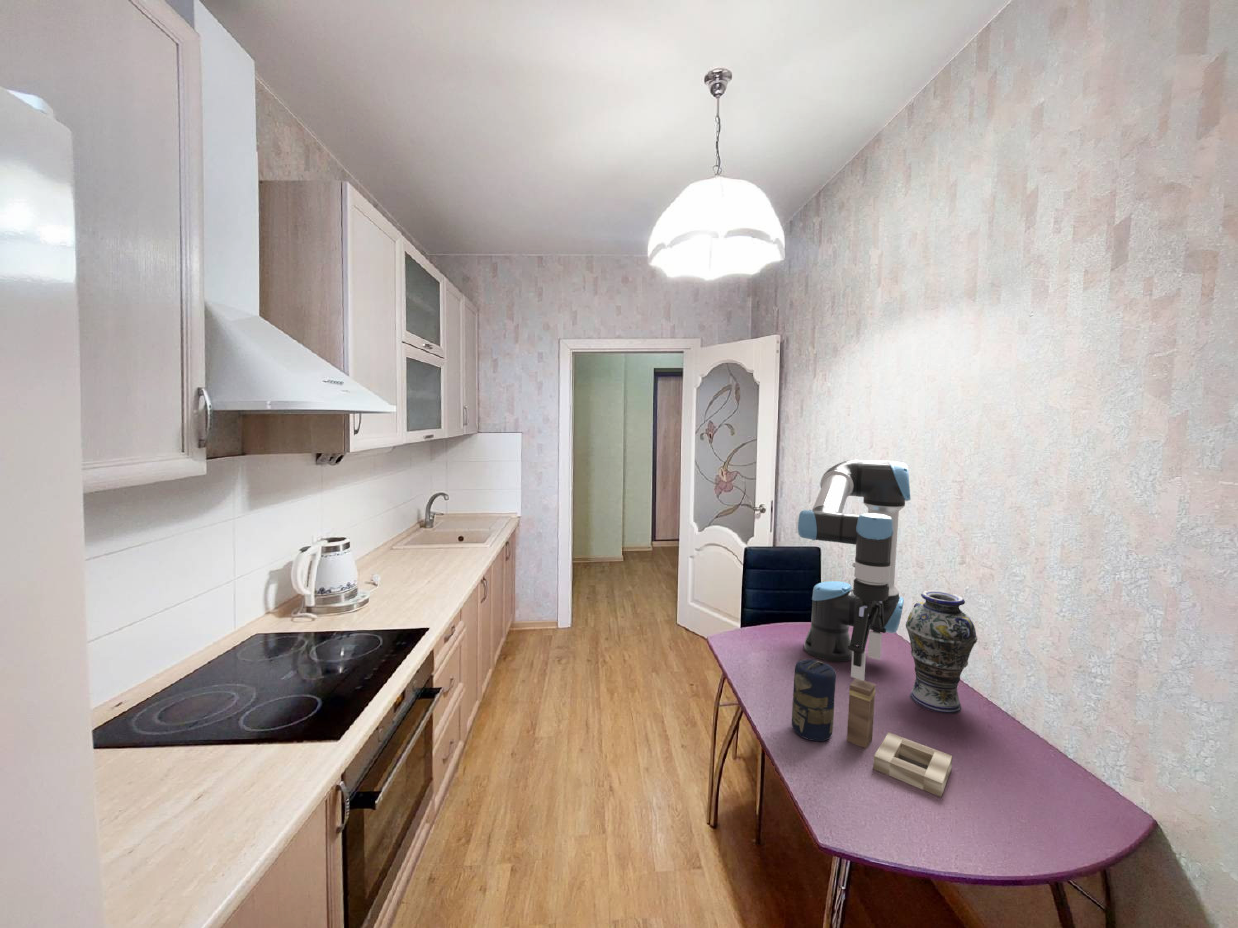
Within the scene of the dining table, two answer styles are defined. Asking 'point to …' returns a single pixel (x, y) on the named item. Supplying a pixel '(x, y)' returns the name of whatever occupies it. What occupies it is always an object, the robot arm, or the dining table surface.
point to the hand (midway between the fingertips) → (866, 667)
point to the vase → (939, 649)
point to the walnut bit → (861, 712)
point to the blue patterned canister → (813, 699)
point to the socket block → (913, 763)
